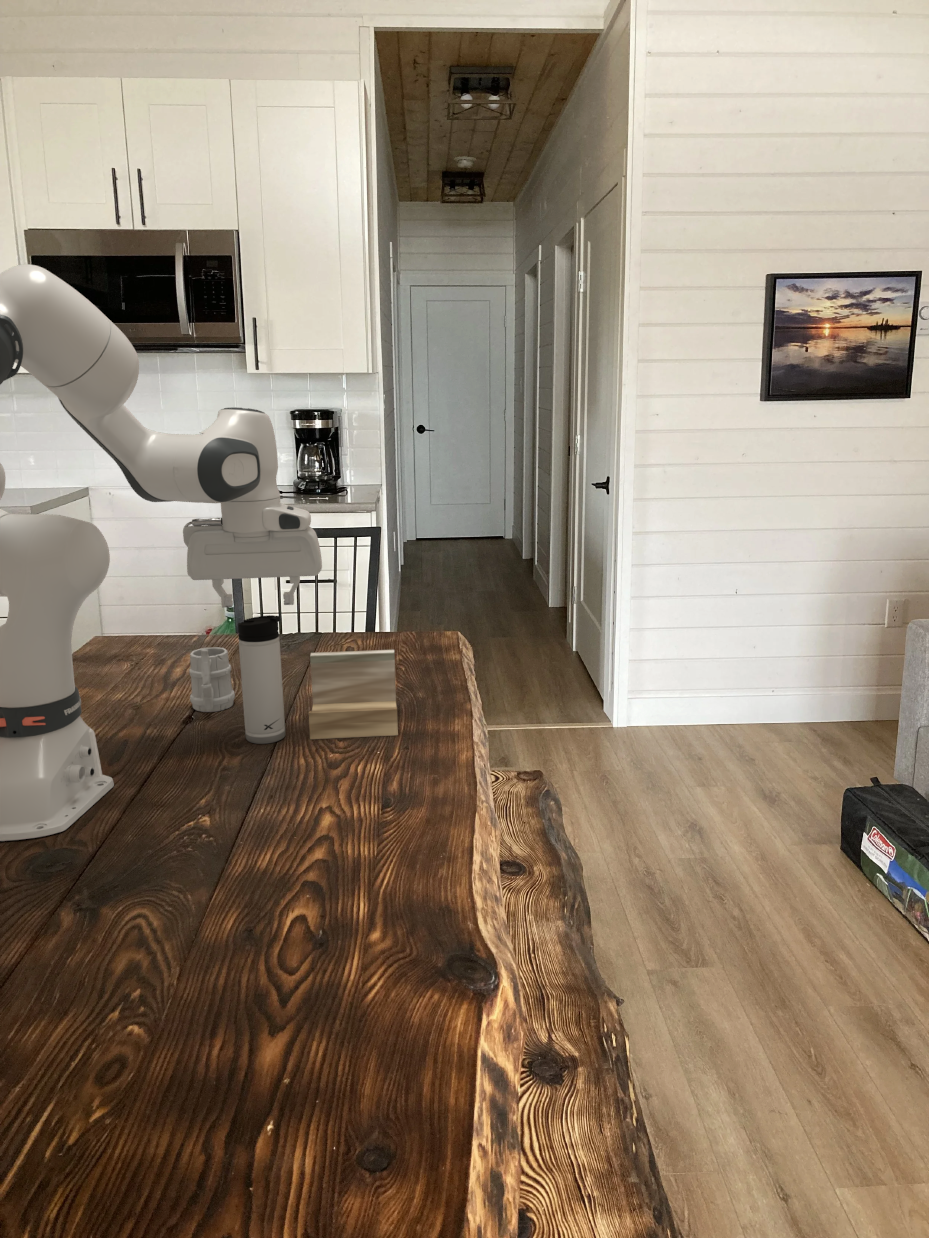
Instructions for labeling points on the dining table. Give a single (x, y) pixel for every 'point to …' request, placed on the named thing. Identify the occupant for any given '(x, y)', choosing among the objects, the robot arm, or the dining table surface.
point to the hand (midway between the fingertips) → (258, 605)
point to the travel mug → (261, 679)
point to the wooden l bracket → (353, 694)
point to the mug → (211, 680)
